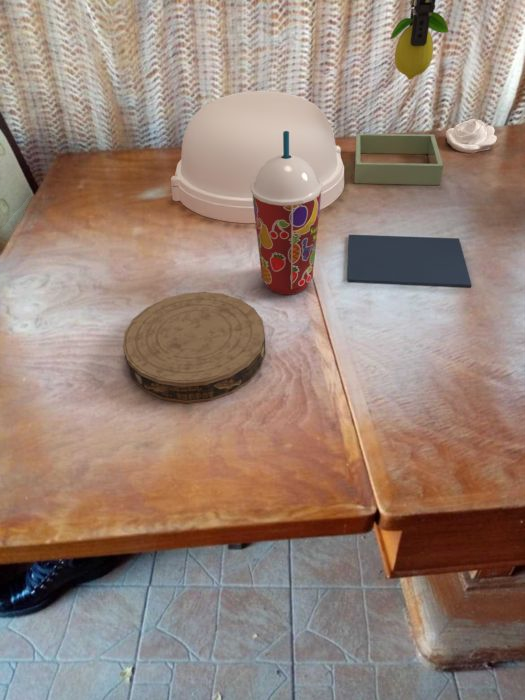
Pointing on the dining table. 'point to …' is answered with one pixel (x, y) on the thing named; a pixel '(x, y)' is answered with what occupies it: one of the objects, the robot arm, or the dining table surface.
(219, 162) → the dome cover
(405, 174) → the sage green tray
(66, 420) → the dining table surface
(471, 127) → the rose
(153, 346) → the wood slice
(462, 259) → the mat
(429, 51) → the lemon
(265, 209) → the smoothie
